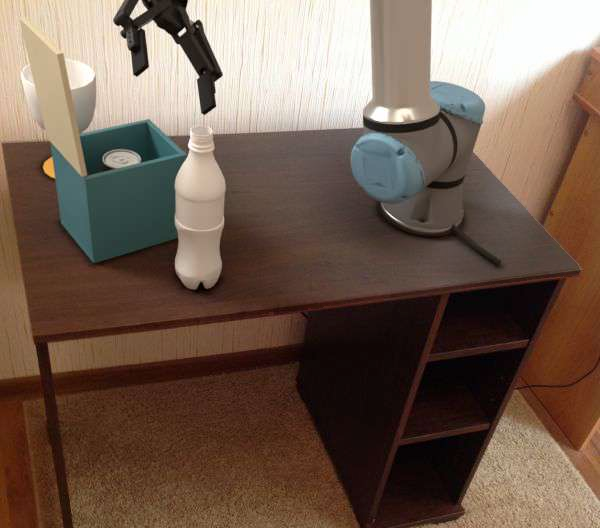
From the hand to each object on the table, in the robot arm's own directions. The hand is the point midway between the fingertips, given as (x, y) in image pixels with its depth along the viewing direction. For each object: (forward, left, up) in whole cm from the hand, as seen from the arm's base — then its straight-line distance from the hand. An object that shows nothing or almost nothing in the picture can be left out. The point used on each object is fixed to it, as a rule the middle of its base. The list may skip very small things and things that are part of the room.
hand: (176, 91), depth 115 cm
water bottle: (-18, +7, -21) cm, 29 cm away
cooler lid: (-1, +19, +3) cm, 19 cm away
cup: (+20, +11, -21) cm, 31 cm away
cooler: (-1, +11, -21) cm, 24 cm away
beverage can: (-1, +10, -20) cm, 23 cm away
